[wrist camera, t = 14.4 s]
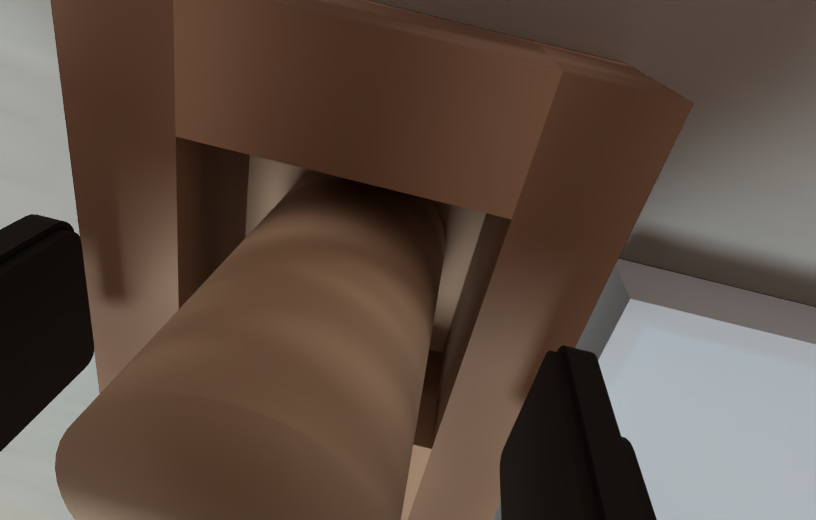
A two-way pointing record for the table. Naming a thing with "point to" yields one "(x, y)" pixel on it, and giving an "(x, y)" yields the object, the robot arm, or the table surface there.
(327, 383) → the dowel
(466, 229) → the wooden dowel rack
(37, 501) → the table surface
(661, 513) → the shallow grey square tray
